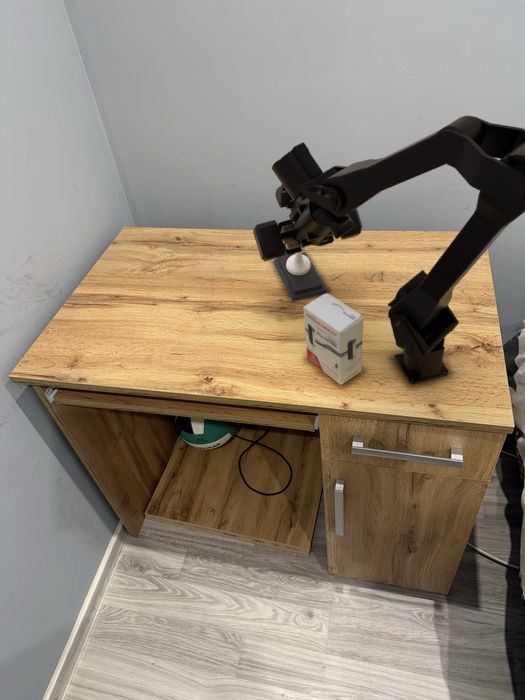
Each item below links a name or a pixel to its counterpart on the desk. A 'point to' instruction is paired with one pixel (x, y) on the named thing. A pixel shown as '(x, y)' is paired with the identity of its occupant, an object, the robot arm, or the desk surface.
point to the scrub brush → (300, 280)
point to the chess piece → (298, 263)
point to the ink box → (334, 337)
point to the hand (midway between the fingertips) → (297, 242)
